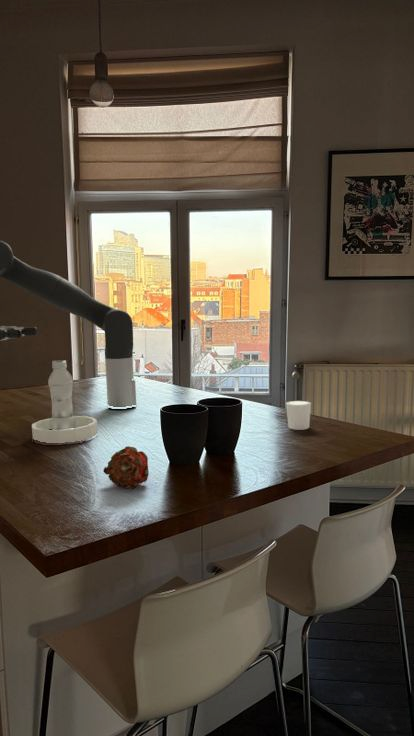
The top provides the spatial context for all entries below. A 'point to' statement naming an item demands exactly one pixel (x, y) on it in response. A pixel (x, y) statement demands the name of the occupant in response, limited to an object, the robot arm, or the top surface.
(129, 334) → the robot arm
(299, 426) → the white cup
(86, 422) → the bowl
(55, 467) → the top surface
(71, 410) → the plastic bottle
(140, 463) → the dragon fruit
